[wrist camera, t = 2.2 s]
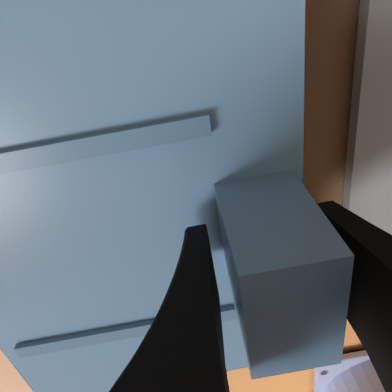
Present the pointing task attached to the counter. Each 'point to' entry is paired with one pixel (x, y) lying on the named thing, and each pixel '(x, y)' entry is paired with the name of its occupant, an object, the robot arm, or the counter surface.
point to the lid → (158, 185)
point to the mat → (371, 119)
